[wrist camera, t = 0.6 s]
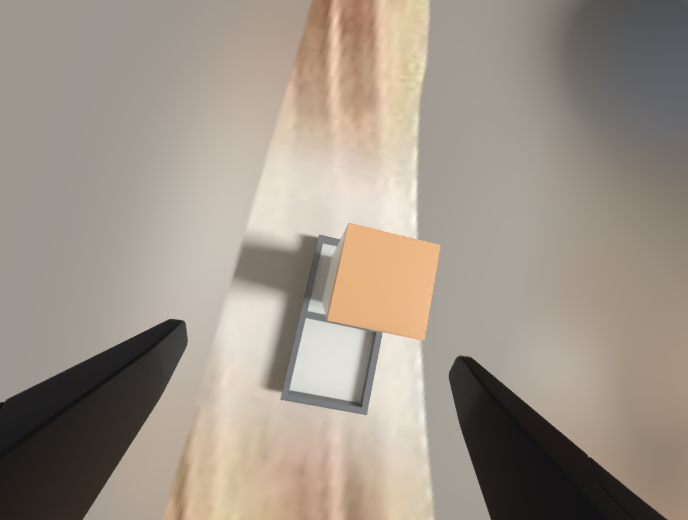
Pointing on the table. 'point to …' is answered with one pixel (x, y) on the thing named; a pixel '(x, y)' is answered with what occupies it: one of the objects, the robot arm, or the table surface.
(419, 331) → the block
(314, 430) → the table surface
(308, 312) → the organiser
